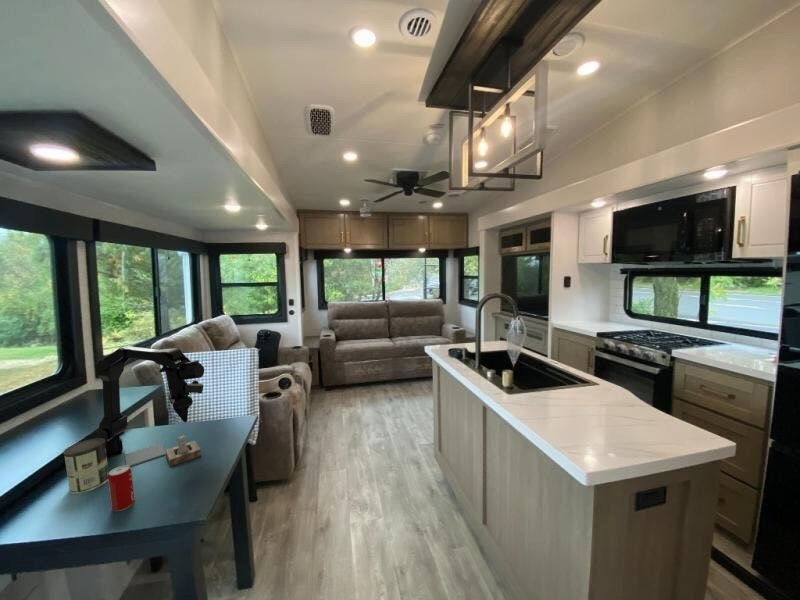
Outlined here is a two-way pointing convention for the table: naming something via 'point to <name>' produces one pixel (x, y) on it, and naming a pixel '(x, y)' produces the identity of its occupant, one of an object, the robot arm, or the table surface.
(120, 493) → the soda can
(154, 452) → the grey mat
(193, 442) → the brown wooden frame
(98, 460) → the coffee can
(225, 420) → the table surface
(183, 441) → the rook chess piece
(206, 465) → the table surface
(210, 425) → the table surface
